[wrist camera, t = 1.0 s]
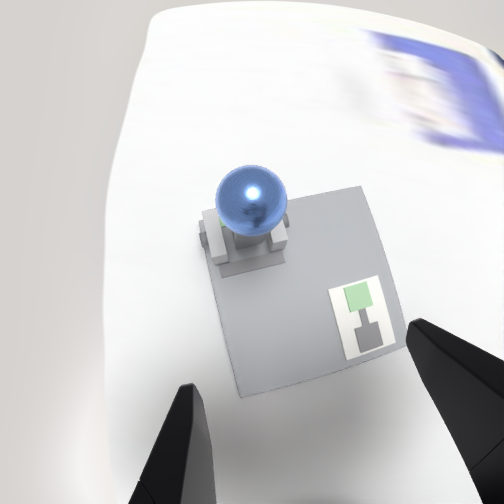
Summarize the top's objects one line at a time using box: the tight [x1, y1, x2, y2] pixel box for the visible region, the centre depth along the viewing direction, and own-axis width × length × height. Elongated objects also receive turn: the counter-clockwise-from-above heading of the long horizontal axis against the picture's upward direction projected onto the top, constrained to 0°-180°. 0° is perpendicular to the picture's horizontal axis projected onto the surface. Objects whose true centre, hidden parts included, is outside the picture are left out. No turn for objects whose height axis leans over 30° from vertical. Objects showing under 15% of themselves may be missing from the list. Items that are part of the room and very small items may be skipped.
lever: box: [215, 165, 287, 250], centre depth 17 cm, size 3×3×10 cm
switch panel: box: [199, 186, 407, 398], centre depth 21 cm, size 13×13×4 cm
